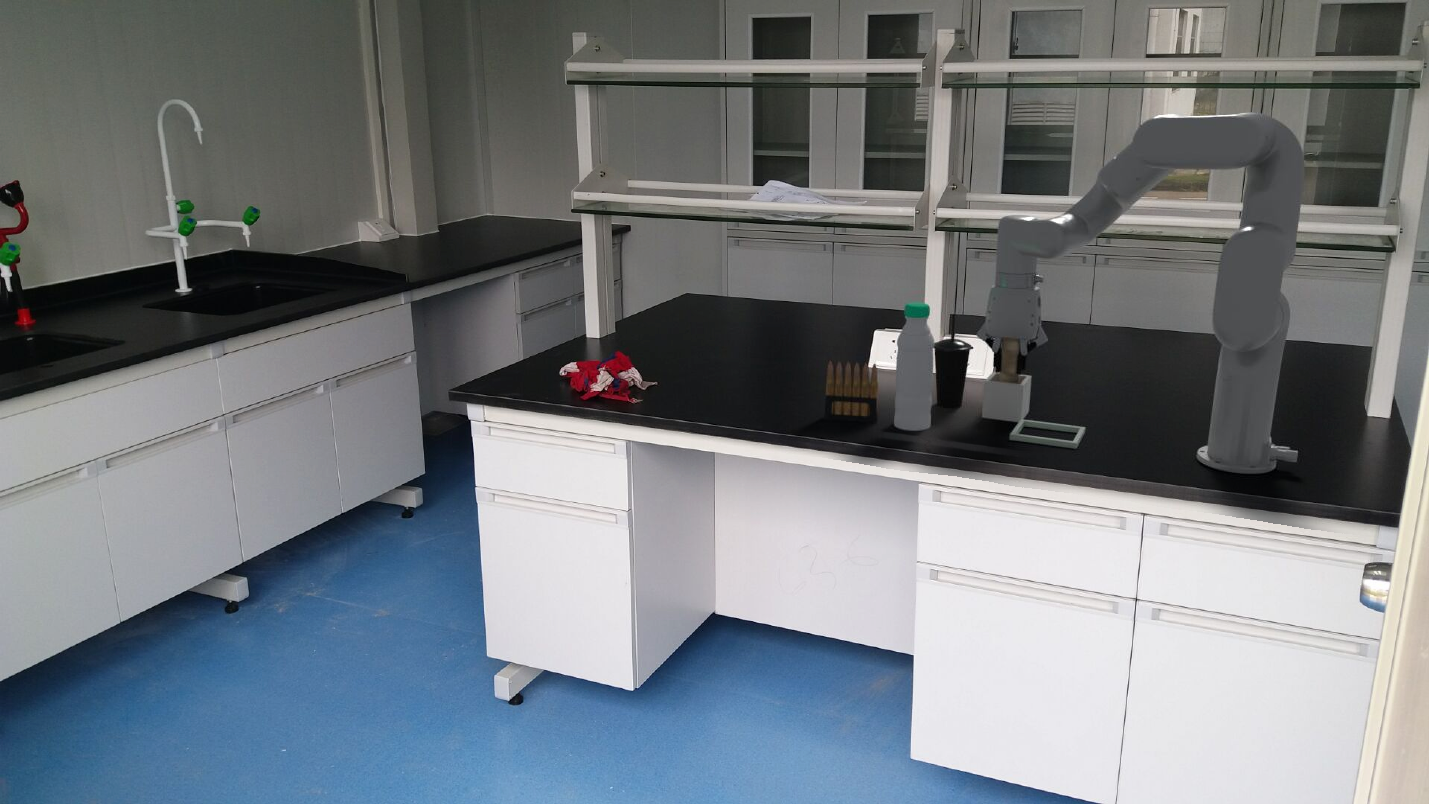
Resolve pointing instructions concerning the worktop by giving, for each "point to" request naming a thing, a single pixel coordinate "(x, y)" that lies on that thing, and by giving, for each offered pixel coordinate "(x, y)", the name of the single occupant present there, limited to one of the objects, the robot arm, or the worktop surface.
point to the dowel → (1009, 360)
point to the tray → (1047, 441)
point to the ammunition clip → (851, 395)
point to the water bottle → (914, 370)
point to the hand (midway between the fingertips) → (1009, 371)
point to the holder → (1006, 398)
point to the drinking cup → (951, 369)
